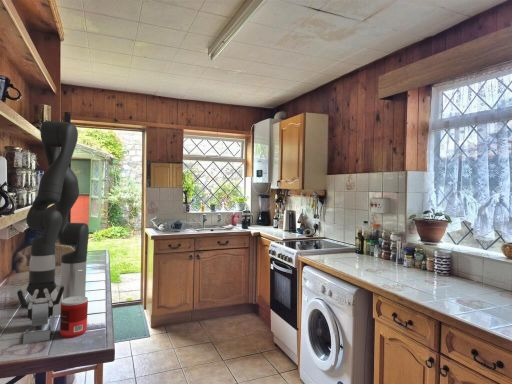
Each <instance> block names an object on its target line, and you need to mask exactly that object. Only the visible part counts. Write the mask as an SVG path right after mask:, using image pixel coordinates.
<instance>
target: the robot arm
mask: <svg viewBox="0 0 512 384" xmlns="http://www.w3.org/2000/svg"><path fill="white" fill-rule="evenodd" d="M39 133H40V134H39V135H40V139H41V143H42V148H43V151H44V155H45V158H46V161H47V169H46V170H44V172H43V174H42V175H41V178H40V180H39V185H38V188H37V189H38V190H37V195H36V196H35V199H34V201H33V202H32V203H31V206H30V208H29V210H28V212H27V214H26V219H25V220H26V225H27V227H28V228H29V229H31V230H35V231H44V233H43V235H42V236H37V237H34V238H33V239H32V240H31V244H30V259H29V266H28V269H29V270H28V284H27V287H25V288H22V289H21V288H20V289H18V290H17V293H16V294H17V297H18V300H19V304H20V307H21V309H27V319H29V320H30V321H32V304H33V303H34V302H35V300H38V299H41V298H46V299H47V301H48V302H49V307H48V319H49V318H51V317H53V316H52V315H53V306H54V305H56V304H59V302H60V299H61V296H62V293H63V299H65V298H69V297H74V296H84V297H86V284H87V283H86V282H87V280H86V279H87V258H88V257H87V256H88V248H89V247H88V245H89V237H90V229H89V224H87V223H85V222H70V221H69V214H70V212H71V209H72V208H73V207H74V205H75V203H76V202H77V201H78V199H79V196H80V187H79V180H78V177H77V175H76V173H75V172H74V170H73V169H72V168H71V167H70V163H71V161H72V158H73V155H74V151H75V150H76V146H77V143H78V139H79V138H78V137H79V130H78V128H77V126H76V125H75V124H74V123H72V122H68V121H55V120H54V121H53V120H45V121H43V122H42V123H41V126H40V131H39ZM59 148H61V149H59ZM51 205H54V209H49V206H51ZM57 240H58V243H59V244H60V245H63V246H76V248H75V249H74V250H73V251H70V252H67V253H64V254H63V255H62V256H61V258H60V259H61V260H60V261H61V262H60V263H61V264H60V284H59V285H57V284H56V281H55V280H56V261H57V260H56V243H57ZM54 289H57V292H58V295H57V298H56V300H54V301H53V300H52V297H51V293H52V292H53V291H54ZM27 293H28V294H29V295H30V296H31V298H30V301H29V303H28V302H27V300H26V297H25V296H26V294H27Z"/></svg>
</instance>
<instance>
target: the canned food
mask: <svg viewBox="0 0 512 384" xmlns="http://www.w3.org/2000/svg"><path fill="white" fill-rule="evenodd" d="M88 299H89V298H88V297H87V296H85V297H84V296H74V297H69V298H65V299H63V300H62V301H61V315H59V317H60V320H59V324H60V325H59V334H60V336H61V337H62V338H67V339H69V338H70V339H71V338H77V337H80V336H82V335H84V334H85V333H86V332H87V330H88V328H87V327H88V307H89V306H88V305H89V300H88Z"/></svg>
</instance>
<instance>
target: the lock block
mask: <svg viewBox="0 0 512 384" xmlns="http://www.w3.org/2000/svg"><path fill="white" fill-rule="evenodd" d="M48 307H49V302H48V301H47V299H41V298H39V299H35V302H34V303H33V304H32V320H31V327H34V326H35V327H36V326H43V325H48V324H49V318H48Z"/></svg>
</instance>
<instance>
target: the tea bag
mask: <svg viewBox="0 0 512 384" xmlns="http://www.w3.org/2000/svg"><path fill="white" fill-rule="evenodd" d="M57 295H58V292H57V289H54V291H53V292H52V293H51V297H52V300H53V301H54V300H56V298H57ZM40 299H46V298H40ZM62 300H63V293H62V296H61V299H60V302H59V304H56V305H54V306H53V315H52V316H51V317H55V316H56V317H57V316H60V315H61V301H62Z"/></svg>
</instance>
